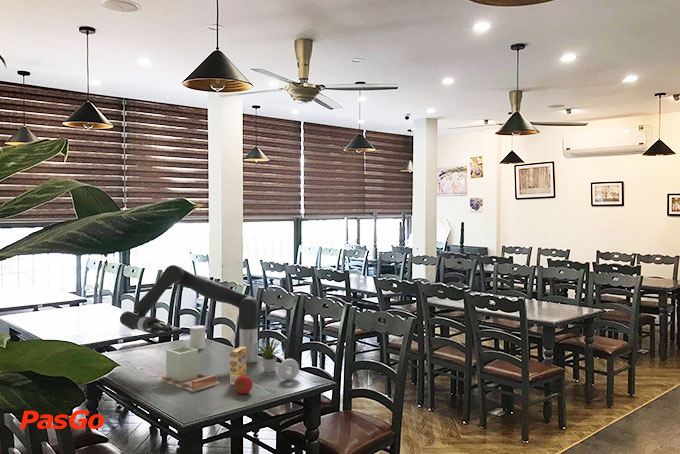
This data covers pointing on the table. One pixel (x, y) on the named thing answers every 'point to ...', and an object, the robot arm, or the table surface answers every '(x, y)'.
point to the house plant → (269, 355)
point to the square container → (182, 363)
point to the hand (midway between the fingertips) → (169, 329)
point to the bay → (194, 382)
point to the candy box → (237, 364)
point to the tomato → (243, 384)
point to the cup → (197, 337)
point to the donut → (293, 372)
